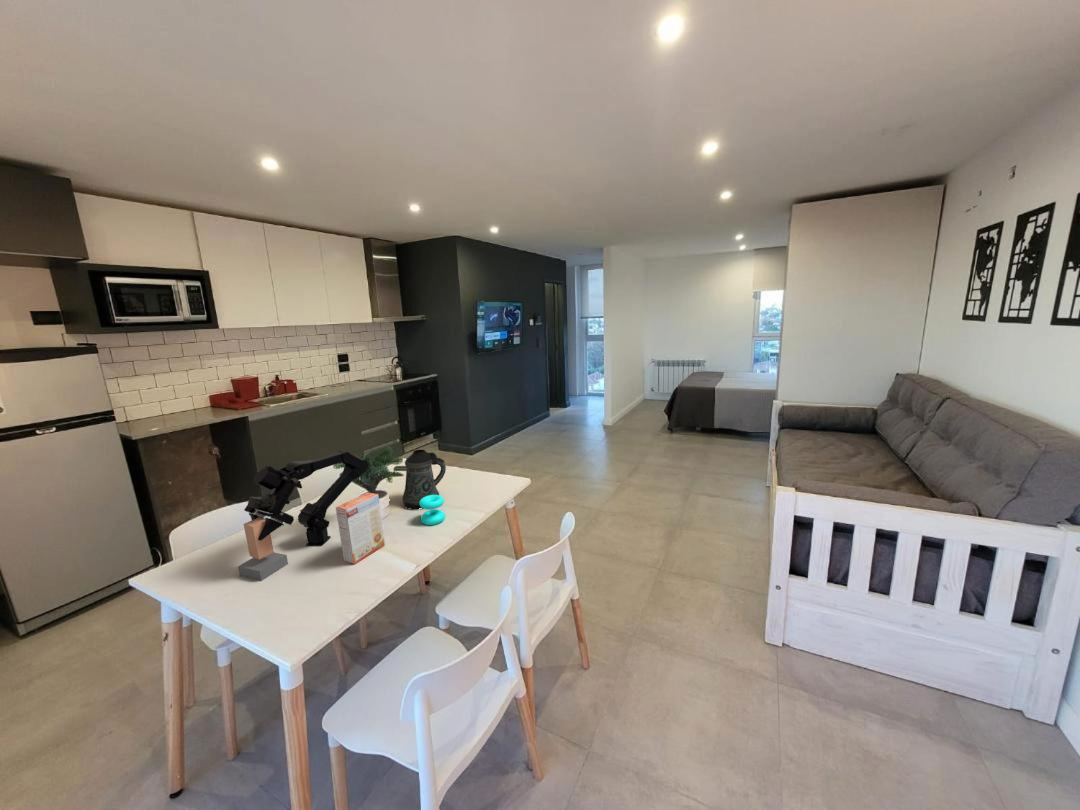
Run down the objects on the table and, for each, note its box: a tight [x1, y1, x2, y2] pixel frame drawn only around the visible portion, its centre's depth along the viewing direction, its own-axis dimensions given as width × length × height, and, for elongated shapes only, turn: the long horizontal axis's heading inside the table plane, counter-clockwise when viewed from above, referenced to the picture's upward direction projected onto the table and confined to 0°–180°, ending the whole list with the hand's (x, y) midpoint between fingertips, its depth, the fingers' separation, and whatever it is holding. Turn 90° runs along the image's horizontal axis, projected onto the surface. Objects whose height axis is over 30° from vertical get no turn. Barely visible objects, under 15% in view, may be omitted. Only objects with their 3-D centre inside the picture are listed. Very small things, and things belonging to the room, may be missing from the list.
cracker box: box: [335, 492, 386, 565], centre depth 150 cm, size 14×6×21 cm, turn 153°
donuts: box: [419, 494, 446, 526], centre depth 175 cm, size 10×10×10 cm
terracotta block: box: [243, 517, 275, 559], centre depth 141 cm, size 5×5×12 cm
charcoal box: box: [237, 552, 289, 582], centre depth 143 cm, size 10×10×4 cm
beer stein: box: [401, 449, 447, 510], centre depth 192 cm, size 16×19×25 cm
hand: (254, 538), depth 140 cm, fingers closed on terracotta block, 5 cm apart
